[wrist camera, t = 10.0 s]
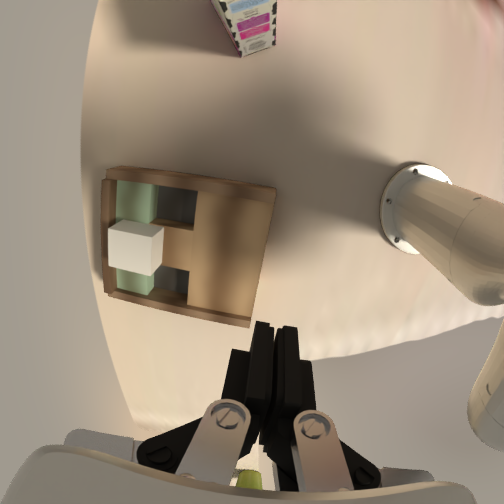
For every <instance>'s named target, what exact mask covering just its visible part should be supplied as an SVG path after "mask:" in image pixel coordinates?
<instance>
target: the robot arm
mask: <svg viewBox="0 0 504 504" xmlns="http://www.w3.org/2000/svg"><path fill="white" fill-rule="evenodd" d="M413 170H414V172H413ZM387 199H388V201H387V202H386V200H387ZM380 219H381V224H382V228H383V230H384V233H385V235H386V236H387V238H388V239H389V241H390V242H391V243H392V244H393V245H394V246H396V247H397V248H398V249H399V250H401V251H403V252H405V253H409V254H421V255H422V256H423V257H425V258H426V259H427V260H428V261H429V262H430V263H431V264H432V265H433V266H434V267H435V268H436V269H438V270H439V271H440V272H441V273H442V274H443V275H444V276H445V277H446V278H447V279H448V280H449V281H450V282H451V283H452V284H453V285H454V286H455V287H456V288H457V289H458V290H459V291H460V292H461V293H462V294H463V295H464V296H465V297H467V298H468V299H469V300H470V301H472V302H474V303H476V304H479V305H482V306H495V305H500V304H504V204H503V203H501V202H498V201H496V200H493V199H491V198H488V197H486V196H483V195H481V194H478V193H475V192H473V191H470V190H467V189H464V188H461V187H459V186H456V185H453V184H452V183H451V181H450V179H449V178H448V177H447V176H446V174H444V173H443V172H442V171H441V170H439V169H437V168H436V167H434V166H430V165H426V164H413V165H410V166H407V167H405V168H403V169H402V170H400V171H399V172H397V173H396V174H395V175H394V176H393V177H392V179H391V180H390V181H389V183H388V184H387V186H386V188H385V190H384V192H383V196H382V199H381V205H380ZM395 237H396V238H395ZM269 326H270V323H266V322H260V321H256V324H255V328H254V333H253V338H252V342H251V347H250V351H249V352H248V351H242V350H237V349H232V351H231V355H230V360H229V365H228V369H227V374H226V378H225V383H224V388H223V392H222V397H221V399H220V400H217V401H214V402H213V403H211V404H210V405H209V407H208V408H207V410H206V412H205V414H204V416H203V417H201V418H199V419H197V420H194V421H192V422H190V423H187V424H185V425H183V426H180V427H178V428H175V429H173V430H170V431H168V432H165V433H163V434H161V435H158V436H155V437H152V438H150V439H147V440H145V441H136V440H134V438H130V437H123V436H117V435H111V434H105V433H99V432H95V431H90V430H85V429H76V430H73V431H71V432H70V433H69V434H68V435H67V437H66V438H65V442H64V445H46V446H43V447H40V448H39V449H37V450H35V451H34V452H33V453H32V454H31V455H30V456H29V457H28V458H27V459H26V461H25V462H24V463H23V465H22V466H21V467H20V469H19V470H18V472H17V473H16V475H15V477H14V478H13V480H12V482H11V484H10V486H9V488H8V489H7V491H6V494H5V495H4V498H3V500H2V502H1V504H477V502H476V500H475V498H474V496H473V494H472V493H471V491H470V490H469V489H468V488H467V487H465V486H463V485H460V484H457V483H452V482H446V481H434V477H433V476H432V474H430V473H429V472H428V471H424V470H412V469H411V470H410V469H398V468H388V467H383V468H382V469H378V468H377V467H376V466H375V465H374V464H372V463H371V462H369V461H368V460H367V459H365V458H364V457H362V456H361V455H360V454H358V453H357V452H355V451H354V450H353V449H351V448H350V447H349V446H347V445H346V444H345V443H343V442H342V441H341V440H340V439H339V438H338V435H337V431H336V428H335V425H334V423H333V421H332V419H331V418H330V417H329V416H328V415H326V414H325V413H323V412H320V411H317V410H316V401H315V391H314V381H313V372H312V364H311V361H308V360H300V356H299V342H298V330H297V327H291V326H283V328H282V329H281V328H278V329H277V333H276V336H275V340H274V327H269ZM467 415H468V421H469V424H470V426H471V428H472V430H473V432H474V433H475V435H476V436H477V437H478V438H479V439H480V440H481V441H482V442H483V443H485V444H486V445H488V446H489V447H491V448H493V449H495V450H498V451H501V452H504V319H503V322H502V325H501V327H500V330H499V334H498V336H497V339H496V341H495V343H494V346H493V348H492V349H491V352H490V354H489V356H488V358H487V360H486V362H485V364H484V366H483V368H482V370H481V372H480V374H479V376H478V377H477V379H476V381H475V384H474V386H473V388H472V390H471V393H470V396H469V400H468V406H467ZM259 432H260V435H259ZM258 435H259V445H264V448H263V452H266V453H267V456H268V457H269V458H270V459H271V460H272V461H273V464H272V467H273V475H274V482H275V490H276V491H270V490H259V489H250V488H242V487H234V486H229V484H230V481H231V479H232V476H233V473H234V470H235V467H236V464H237V461H238V460H239V459H240V458H242V457H244V456H246V455H247V454H249V453H250V451H251V448H252V445H253V444H255V442H256V440H257V437H258Z"/></svg>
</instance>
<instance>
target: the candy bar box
mask: <svg viewBox="0 0 504 504" xmlns="http://www.w3.org/2000/svg"><path fill="white" fill-rule="evenodd" d="M210 1H211V3H212V5H213V6H214V8H215V10H216V12H217V14H218V16H219V17H220V19H221V21H222V23H223V25H224V27H225V29H226V30H227V32H228V34H229V36H230V38H231V40H232V41H233V43H234V45H235V47H236V49H237V51H238V53H239V55H240V57H241V58H242V57H245V56H247V55H250V54H252V53H255V52H257V51H261V50H263V49H267V48H270V47H272V46H275V45H276V43H275V42H276V12H277V11H276V10H277V0H210Z"/></svg>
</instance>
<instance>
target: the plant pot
mask: <svg viewBox="0 0 504 504" xmlns="http://www.w3.org/2000/svg"><path fill="white" fill-rule="evenodd" d="M235 487H242V488H250V489H259V490H262V480H261V474H260V473H259V472H255V471H253V470H244V471H242V472H240V473H239V476H238V480H237V483H236V486H235Z"/></svg>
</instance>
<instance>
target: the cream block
mask: <svg viewBox="0 0 504 504" xmlns="http://www.w3.org/2000/svg"><path fill="white" fill-rule="evenodd" d="M163 236H164V227H161V226H156V225H150V224H145V223H140V222H134V221H129V220H124V219H123V220H121V221H120V222H118V223H116V224H115V225H113V226H111V227H110V228H108V262H109V266H111V267H115V268H119V269H123V270H127V271H131V272H135V273H139V274H143V275H147V276H151V275H152V274H153V273H154V272H155V270H156V269H157V268H158V267H159V266H160V265H161V263H162V251H163Z"/></svg>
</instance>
